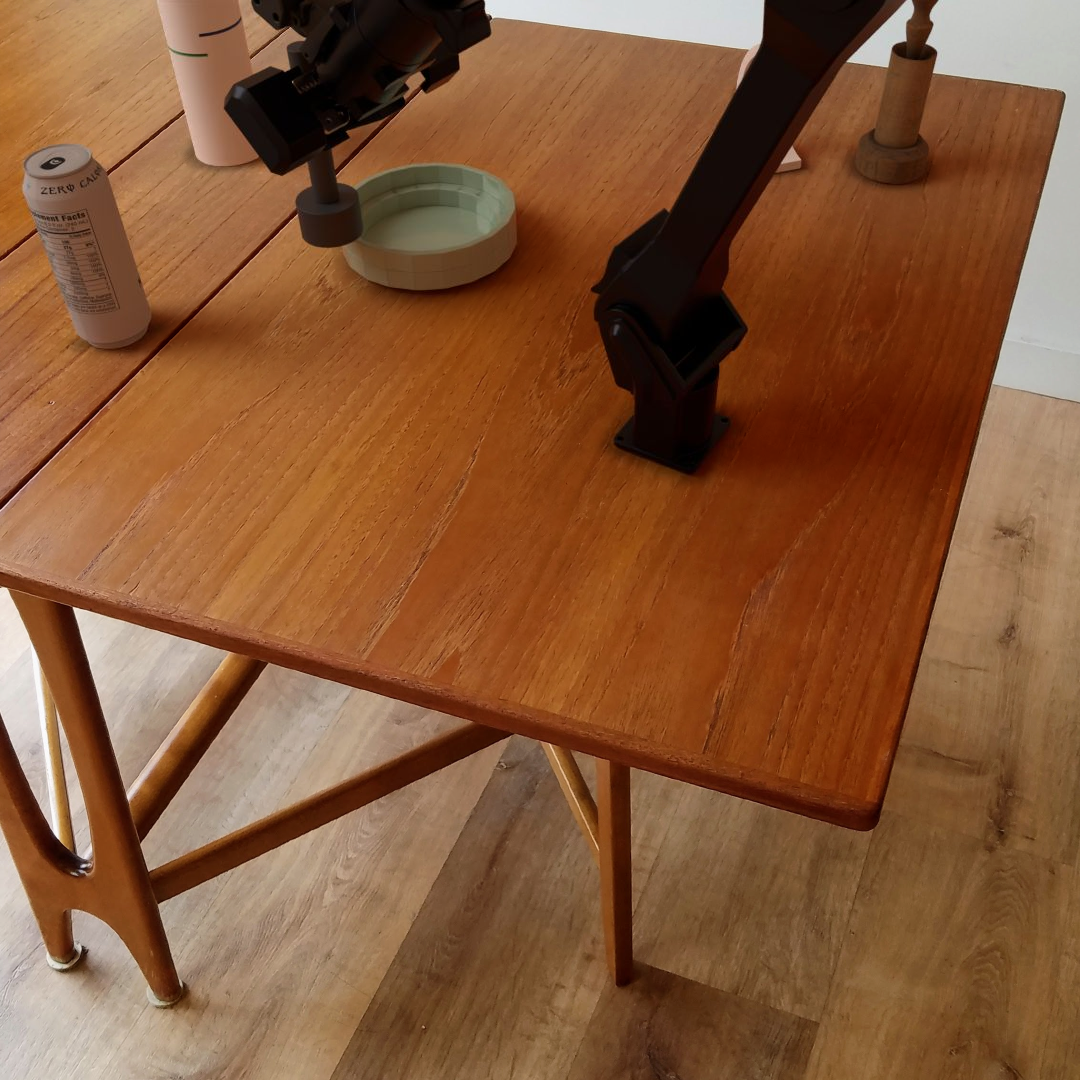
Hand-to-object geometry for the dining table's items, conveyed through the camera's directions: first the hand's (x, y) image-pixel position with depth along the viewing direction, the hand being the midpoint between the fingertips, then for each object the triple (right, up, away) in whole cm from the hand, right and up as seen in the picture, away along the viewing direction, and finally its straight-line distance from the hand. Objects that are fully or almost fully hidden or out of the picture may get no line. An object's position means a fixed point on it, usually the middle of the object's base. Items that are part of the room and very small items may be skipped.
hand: (305, 138), depth 89 cm
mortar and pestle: (+51, +4, +21) cm, 56 cm away
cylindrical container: (-13, +8, +27) cm, 31 cm away
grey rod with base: (+1, -6, +5) cm, 8 cm away
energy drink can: (-16, -14, +5) cm, 22 cm away
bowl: (+8, -5, +13) cm, 16 cm away
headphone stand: (+40, +6, +23) cm, 46 cm away
